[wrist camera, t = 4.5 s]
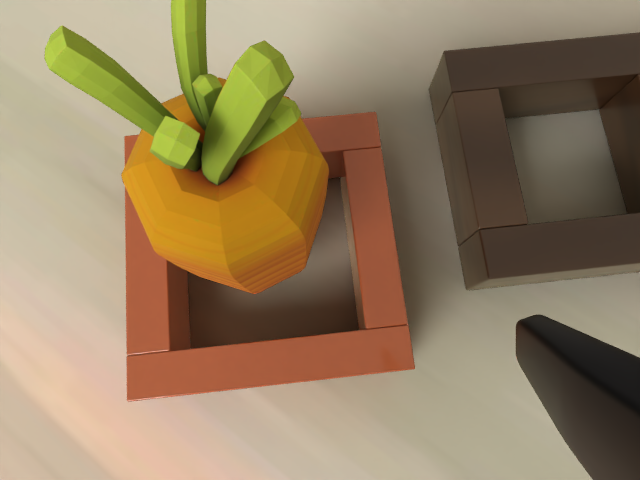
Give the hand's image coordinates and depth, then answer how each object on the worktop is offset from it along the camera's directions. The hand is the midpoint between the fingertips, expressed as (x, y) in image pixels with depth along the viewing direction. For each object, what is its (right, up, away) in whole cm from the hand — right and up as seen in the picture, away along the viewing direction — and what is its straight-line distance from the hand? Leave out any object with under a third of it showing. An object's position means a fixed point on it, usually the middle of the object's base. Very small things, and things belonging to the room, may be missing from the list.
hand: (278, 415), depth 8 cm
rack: (+16, +7, +14) cm, 22 cm away
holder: (-2, +2, +13) cm, 13 cm away
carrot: (-2, +2, +13) cm, 14 cm away
